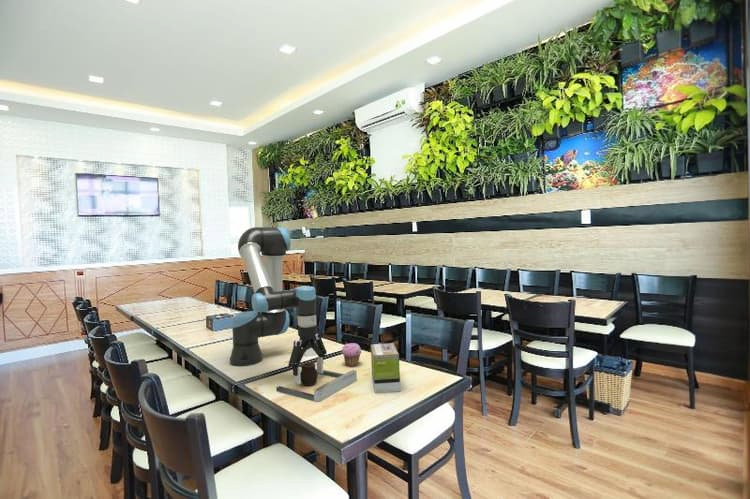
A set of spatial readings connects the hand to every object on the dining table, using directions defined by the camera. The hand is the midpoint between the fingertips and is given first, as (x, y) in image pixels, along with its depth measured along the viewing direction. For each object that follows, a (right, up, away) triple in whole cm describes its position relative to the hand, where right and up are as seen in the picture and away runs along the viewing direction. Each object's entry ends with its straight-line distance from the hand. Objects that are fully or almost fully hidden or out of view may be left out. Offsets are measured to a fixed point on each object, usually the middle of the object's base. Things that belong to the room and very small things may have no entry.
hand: (309, 377), depth 159 cm
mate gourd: (0, -3, 0) cm, 3 cm away
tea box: (+31, -2, -4) cm, 31 cm away
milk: (-7, -1, +41) cm, 41 cm away
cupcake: (+16, -1, +22) cm, 27 cm away
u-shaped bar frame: (+4, -2, -2) cm, 5 cm away
